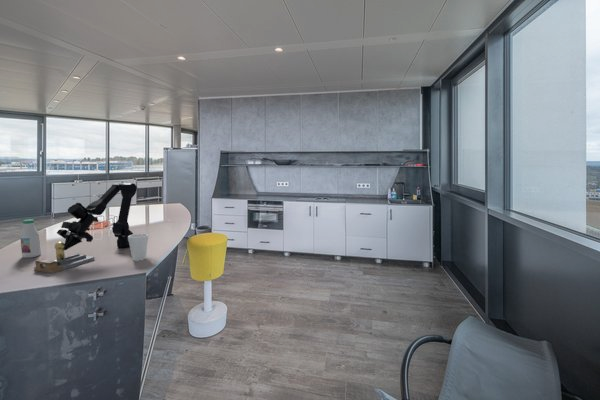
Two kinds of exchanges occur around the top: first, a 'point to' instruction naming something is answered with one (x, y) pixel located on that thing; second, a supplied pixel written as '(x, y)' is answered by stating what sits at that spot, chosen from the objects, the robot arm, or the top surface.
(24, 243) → the milk bottle
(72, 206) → the robot arm
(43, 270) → the grey railed plate
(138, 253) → the foam cup
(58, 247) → the brass ball knob
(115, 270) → the top surface
